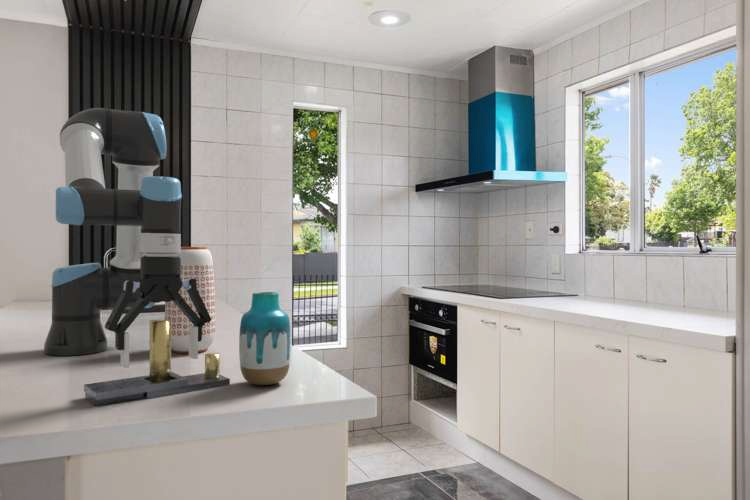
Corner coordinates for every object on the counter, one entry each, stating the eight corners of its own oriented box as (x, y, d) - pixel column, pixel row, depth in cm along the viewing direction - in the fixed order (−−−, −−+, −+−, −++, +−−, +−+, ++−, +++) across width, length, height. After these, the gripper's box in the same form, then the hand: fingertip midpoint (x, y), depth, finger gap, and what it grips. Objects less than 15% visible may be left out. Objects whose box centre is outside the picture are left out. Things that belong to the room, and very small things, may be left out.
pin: (146, 390, 115) (146, 320, 115) (166, 387, 118) (166, 318, 118) (153, 394, 112) (154, 322, 112) (174, 391, 115) (174, 320, 115)
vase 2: (266, 393, 114) (267, 296, 114) (228, 385, 120) (228, 293, 120) (300, 382, 123) (301, 292, 123) (263, 375, 129) (264, 289, 129)
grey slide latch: (83, 397, 110) (83, 366, 110) (212, 377, 127) (212, 350, 127) (96, 407, 104) (96, 373, 104) (229, 384, 121) (229, 355, 121)
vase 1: (161, 356, 150) (161, 247, 149) (167, 346, 163) (167, 246, 162) (214, 354, 153) (215, 247, 152) (216, 345, 166) (217, 246, 165)
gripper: (99, 256, 104) (98, 374, 104) (227, 255, 120) (227, 357, 120) (87, 255, 110) (87, 367, 110) (211, 254, 126) (211, 351, 126)
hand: (160, 362), depth 115 cm, fingers open, 13 cm apart
